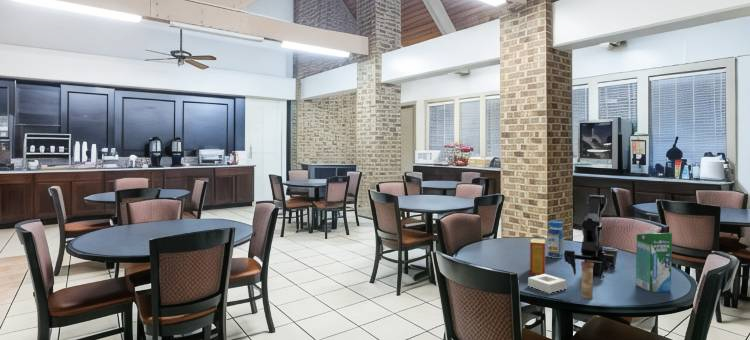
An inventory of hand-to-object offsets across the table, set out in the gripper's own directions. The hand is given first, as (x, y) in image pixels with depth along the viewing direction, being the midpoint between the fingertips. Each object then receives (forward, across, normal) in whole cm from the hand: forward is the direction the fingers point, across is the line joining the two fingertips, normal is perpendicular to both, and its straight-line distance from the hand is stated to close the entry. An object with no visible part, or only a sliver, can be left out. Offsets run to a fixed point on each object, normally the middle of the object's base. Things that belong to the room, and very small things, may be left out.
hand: (587, 276), depth 166 cm
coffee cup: (-31, +5, +43) cm, 53 cm away
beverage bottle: (-37, -21, +48) cm, 64 cm away
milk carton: (-12, +23, +24) cm, 36 cm away
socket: (+4, -16, +8) cm, 18 cm away
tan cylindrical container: (+6, 0, +6) cm, 9 cm away
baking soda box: (-12, -24, +24) cm, 36 cm away
